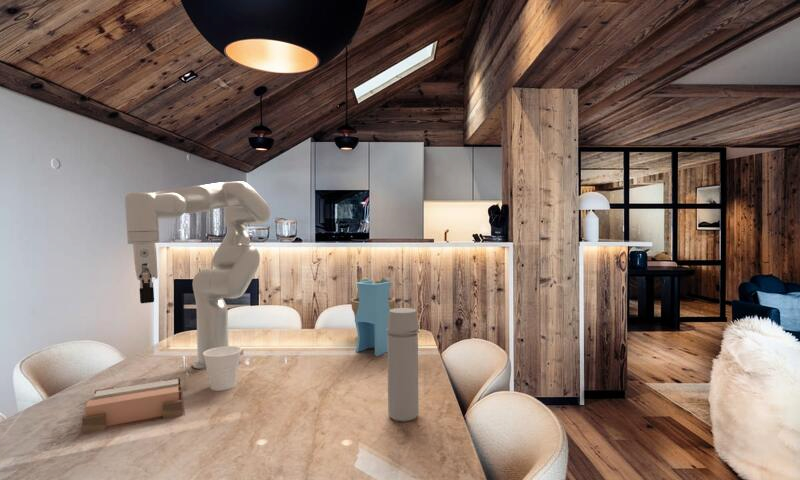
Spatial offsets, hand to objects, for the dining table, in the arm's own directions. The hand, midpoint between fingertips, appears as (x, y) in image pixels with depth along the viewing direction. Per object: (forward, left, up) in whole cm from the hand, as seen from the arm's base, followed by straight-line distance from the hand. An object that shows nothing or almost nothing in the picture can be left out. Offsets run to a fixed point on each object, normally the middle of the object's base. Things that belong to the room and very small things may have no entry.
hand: (147, 299), depth 120 cm
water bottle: (-54, +49, -26) cm, 77 cm away
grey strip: (+2, +10, -24) cm, 26 cm away
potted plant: (-80, -25, -26) cm, 88 cm away
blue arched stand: (-71, -5, -26) cm, 76 cm away
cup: (-18, +10, -26) cm, 33 cm away
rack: (+2, +16, -25) cm, 30 cm away
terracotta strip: (+2, +22, -24) cm, 33 cm away
